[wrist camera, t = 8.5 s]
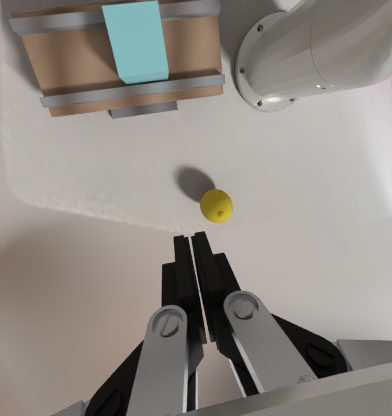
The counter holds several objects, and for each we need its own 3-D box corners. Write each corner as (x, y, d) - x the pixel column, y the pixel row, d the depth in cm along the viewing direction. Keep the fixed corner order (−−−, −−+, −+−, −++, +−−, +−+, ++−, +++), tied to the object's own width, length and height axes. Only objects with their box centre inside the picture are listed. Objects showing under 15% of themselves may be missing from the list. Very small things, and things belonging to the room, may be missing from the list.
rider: (159, 23, 23) (157, 0, 18) (167, 79, 25) (168, 70, 21) (114, 28, 22) (101, 5, 18) (127, 84, 25) (119, 77, 20)
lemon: (199, 182, 38) (207, 198, 30) (227, 185, 39) (241, 200, 31) (195, 209, 40) (202, 230, 33) (222, 211, 41) (235, 231, 34)
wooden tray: (206, 7, 28) (218, -28, 21) (213, 104, 33) (226, 101, 26) (39, 24, 26) (-4, -8, 19) (74, 124, 31) (50, 125, 24)
